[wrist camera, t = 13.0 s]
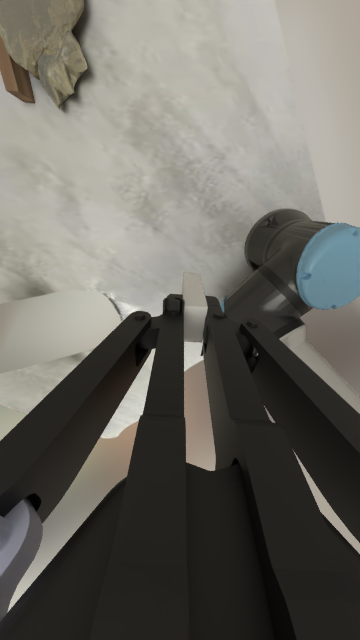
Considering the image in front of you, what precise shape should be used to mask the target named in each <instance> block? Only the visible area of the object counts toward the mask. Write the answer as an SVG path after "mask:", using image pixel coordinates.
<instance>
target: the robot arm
mask: <svg viewBox="0 0 360 640" xmlns="http://www.w3.org/2000/svg"><path fill="white" fill-rule="evenodd" d="M245 257H246V261H247V263H248V264H249V266H250V267H251V268H252V269H253V270H254V272H253V273H252V274H251V275H250V276H249V277H248V278H247V279H246V280H244V281H243V282H242V283H241V284H240V285H239V286H238V287H236V288H235V289H234V290H233V291H232V292H231V293H230V294H228V295H227V296H225V297H224V298H223V300H222V301H221V302H220V303H219V300H218V299H217V298H216V297H213V296H205V293H204V289H203V285H202V280H201V276H200V274H194V273H184V275H183V287H182V295H179V294H170V295H168V296H167V298H165V299H164V300H163V314H162V315H160V316H157V317H151V315H150V314H149V313H148V312H144V311H136V312H133V313H131V314H130V315H129V316H128V317H127V318H126V319H125V320H124V321H123V322H122V323H121V324H120V325H119V326H118V327H117V328H116V329H115V330H114V331H112V332H111V333H110V334H109V335H108V336H107V337H106V338H105V339H104V340H103V341H102V342H101V343H100V344H99V345H98V346H97V347H96V348H95V349H94V350H93V351H92V352H91V353H90V354H89V355H88V356H87V357H86V358H85V359H84V360H83V361H82V362H81V363H80V364H79V365H78V366H77V367H76V368H75V369H74V370H73V371H72V372H71V373H69V374H68V375H67V376H66V377H65V378H64V379H63V380H62V381H61V382H60V383H59V384H58V385H57V386H56V387H55V388H54V389H53V390H52V391H51V392H50V393H49V394H48V395H47V396H46V397H45V398H44V399H43V400H42V401H41V402H40V403H39V404H38V405H37V406H36V407H35V408H34V409H33V410H32V411H31V412H30V413H29V414H28V415H26V416H25V417H24V419H22V420H21V421H20V422H19V423H18V424H17V426H15V427H14V428H13V429H12V430H11V431H10V432H9V433H8V434H7V435H6V436H5V437H4V438H3V439H2V440H1V441H0V640H360V554H359V553H358V552H357V551H356V550H355V549H354V548H353V547H352V545H351V544H350V543H349V542H348V541H347V540H346V539H345V538H344V537H343V536H342V535H341V534H340V532H339V531H338V530H336V528H335V527H334V526H333V525H332V524H331V523H330V522H329V521H328V520H327V519H326V517H325V516H324V515H323V514H322V513H321V512H320V510H319V508H318V505H317V503H316V501H315V499H314V496H313V494H312V492H311V490H310V487H309V485H308V483H307V481H306V478H305V476H304V474H303V472H302V469H301V467H300V465H299V463H298V460H297V458H296V456H295V454H294V452H295V453H296V455H297V456H298V458H299V459H300V461H301V462H302V464H303V466H304V467H305V469H306V470H307V472H308V473H309V474H310V476H311V478H312V479H313V481H314V482H315V484H316V486H317V487H318V489H319V490H320V492H321V493H322V495H323V496H324V497H325V499H326V500H327V502H328V503H329V505H330V506H331V507H332V509H333V510H334V512H335V513H336V514H337V516H338V517H339V518H340V519H341V520H342V522H343V523H344V524H345V526H346V527H347V528H348V530H349V531H350V532H351V533H352V534H353V536H354V537H355V538H356V539H357V540H358V541H359V543H360V396H359V395H358V394H357V393H356V392H355V391H354V389H353V388H352V387H350V385H349V384H348V383H347V382H346V381H345V380H344V379H343V378H342V377H341V376H340V375H339V374H338V372H337V371H336V370H335V369H334V368H333V367H332V366H331V365H330V364H329V363H328V362H327V361H326V360H325V359H324V358H323V357H322V355H321V354H320V353H319V352H318V351H317V350H316V349H315V348H314V347H313V346H312V345H311V344H310V343H309V342H308V341H307V339H306V332H307V326H306V324H305V323H303V321H302V320H301V319H300V317H301V316H302V315H304V314H305V313H307V312H308V311H310V310H311V309H312V308H316V309H322V310H328V309H329V308H333V309H335V308H339V307H342V306H344V305H346V304H348V303H350V302H351V301H353V300H355V299H356V298H357V297H358V296H359V295H360V228H359V227H355V226H352V225H349V224H346V223H328V222H317V221H312V220H311V219H310V218H309V217H308V216H307V215H306V214H305V213H303V212H301V211H298V210H295V209H279V210H275V211H273V212H270V213H268V214H267V215H265V216H264V217H262V218H261V219H260V220H259V221H258V222H257V223H256V224H255V225H254V226H253V228H252V229H251V231H250V233H249V235H248V237H247V240H246V243H245ZM202 339H203V347H202V352H201V356H204V364H205V371H206V380H207V388H208V396H209V404H210V412H211V420H212V428H213V436H214V444H215V453H216V466H215V471H208V470H205V469H202V468H200V467H197V466H195V465H192V464H189V463H186V428H185V418H184V341H187V342H202ZM154 348H156V350H155V356H154V361H153V366H152V371H151V376H150V381H149V386H148V391H147V396H146V402H145V407H144V411H143V415H141V416H140V419H139V423H138V427H137V432H136V437H135V442H134V446H133V451H132V456H131V461H130V465H129V470H128V475H127V477H125V478H124V479H123V480H122V481H120V482H119V483H118V484H117V485H116V486H115V487H114V488H113V489H112V490H111V491H110V492H109V493H108V494H107V495H106V496H105V497H104V499H103V500H102V501H101V502H100V503H99V505H98V506H97V507H96V508H95V510H94V511H93V512H92V513H91V514H90V515H89V517H88V518H87V519H86V520H85V521H84V522H83V524H82V525H81V526H80V527H79V528H78V530H77V531H76V532H75V533H74V534H73V536H72V537H71V538H70V539H69V540H68V542H67V543H66V544H65V545H64V546H63V547H62V549H61V550H60V551H59V552H58V553H57V555H56V556H55V557H54V558H53V559H52V561H51V562H50V563H49V564H48V565H47V567H46V568H45V569H44V570H43V571H42V573H41V574H40V575H39V576H38V577H37V579H36V580H35V581H34V582H33V583H32V584H31V586H30V587H29V588H28V589H27V590H26V592H25V593H24V594H23V595H22V596H21V597H20V599H19V600H18V601H17V602H16V603H15V605H14V606H13V607H12V608H11V609H10V611H9V612H8V613H7V611H8V607H9V604H10V600H11V598H12V596H13V594H14V592H15V590H16V587H17V585H18V583H19V582H20V580H21V578H22V577H23V575H24V574H25V572H26V571H27V569H28V568H29V566H30V564H31V563H32V561H33V560H34V558H35V556H36V553H37V551H38V549H39V547H40V543H41V539H42V530H43V526H42V523H43V522H44V521H45V520H46V518H47V517H48V516H49V515H50V513H51V512H52V511H53V509H54V508H55V507H56V506H57V504H58V503H59V501H60V500H61V499H62V498H63V496H64V495H65V493H66V491H67V490H68V488H69V487H70V485H71V484H72V482H73V481H74V479H75V477H76V476H77V474H78V472H79V471H80V469H81V467H82V466H83V464H84V463H85V461H86V459H87V457H88V456H89V454H90V453H91V451H92V449H93V448H94V446H95V444H96V443H97V441H98V439H99V438H100V436H101V434H102V433H103V431H104V429H105V428H106V426H107V424H108V423H109V421H110V419H111V418H112V416H113V414H114V413H115V411H116V409H117V408H118V406H119V404H120V403H121V401H122V400H123V398H124V396H125V395H126V393H127V391H128V390H129V388H130V386H131V385H132V383H133V381H134V380H135V378H136V376H137V375H138V373H139V371H140V370H141V368H142V366H143V365H144V363H145V361H146V360H147V358H148V356H149V355H150V353H151V350H152V349H154ZM263 404H264V405H263ZM264 406H265V407H266V409H267V410H268V411H269V413H270V415H271V416H272V418H273V420H274V421H275V423H272V422H271V421H270V419H269V417H268V415H267V412H266V410H265V407H264ZM293 450H294V451H293Z"/></svg>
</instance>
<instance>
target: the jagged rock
mask: <svg viewBox="0 0 360 640" xmlns="http://www.w3.org/2000/svg"><path fill="white" fill-rule="evenodd" d="M83 9H84V0H0V36H1V38H2V39H3V41H4V44H5V48H6V50H7V52H8V53H9V55H10V56H11V57H12V59H13V60H14V61H15V62H16V63H17V64H19V65H20V66H22V67H23V68H25V69H26V70H28V71H29V72H30V73H31V74H32V75H33V76H34V77H35V78H36V79H38V80H41V82H42V84H43V86H44V88H45V89H46V91H47V93H48V94H49V96H50V97H51V99H52V100H53V102H54V103H55V104H56V106H57V107H58V108H59V110H60V105H61V103H62V102H63V101H65V100H66V99H67V98H68V97H69V95H71V94H73V93H75V92H74V86H75V83H76V81H77V80H78V78H79V77H80V76H81V75H82V74H83V73H84V71H85V70H86V69H88V67H87V62H86V60H85V58H84V56H83V53H82V50H81V48H80V45H79V43H78V42H77V40H76V38H75V37H74V35H73V34H72V29H73V28H74V26H75V25H76V23H77V21H78V20H79V18H80V16H81V15H82V13H83Z"/></svg>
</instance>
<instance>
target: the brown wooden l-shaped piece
mask: <svg viewBox="0 0 360 640" xmlns="http://www.w3.org/2000/svg"><path fill="white" fill-rule="evenodd" d="M0 71H1V74H2V78H3V81H4V85H5V88H6V91H8V92H9V93H11V94H12V95H14V96H15V97H17V98H19V99H20V100H22V101H23V102H28V103H35V100H34V96H33V91H32V87H31V83H30V79H29V74H28V70H26V69H25V68H23V67H22V66H20V65H19V64H17V63H16V62H15V61H14V60H13V59H12V57H11V56H10V55H9V53H8V52H7V50H6V48H5V44H4V41H3V39H2V38H1V36H0Z"/></svg>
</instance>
